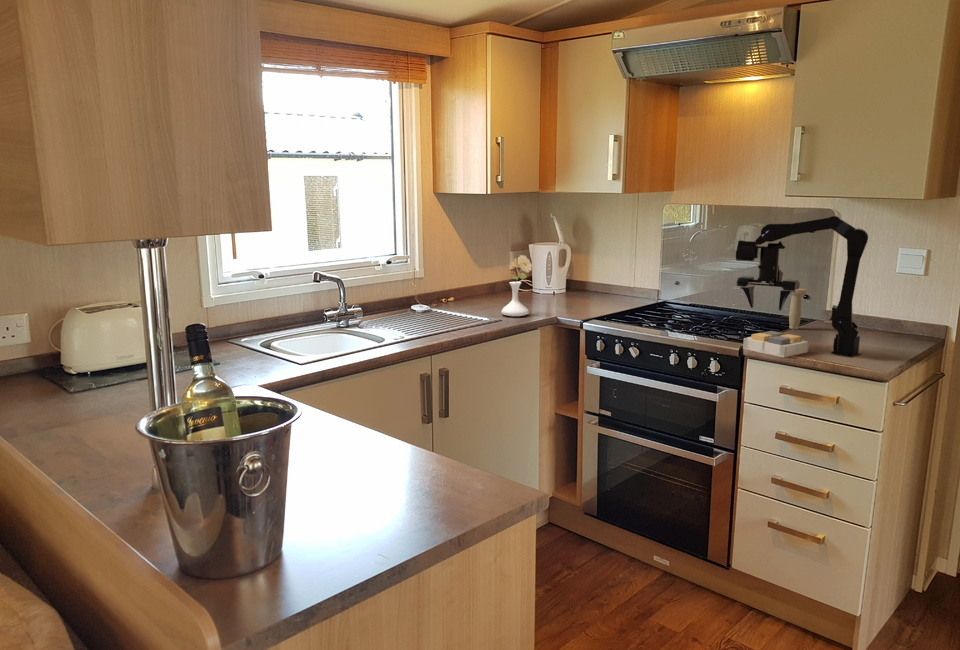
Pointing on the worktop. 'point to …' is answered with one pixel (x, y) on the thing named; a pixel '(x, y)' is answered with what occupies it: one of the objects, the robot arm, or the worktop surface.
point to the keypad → (776, 347)
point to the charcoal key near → (779, 340)
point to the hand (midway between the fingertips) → (765, 309)
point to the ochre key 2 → (792, 338)
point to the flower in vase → (515, 306)
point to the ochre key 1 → (761, 337)
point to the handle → (795, 308)
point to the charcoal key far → (774, 333)
